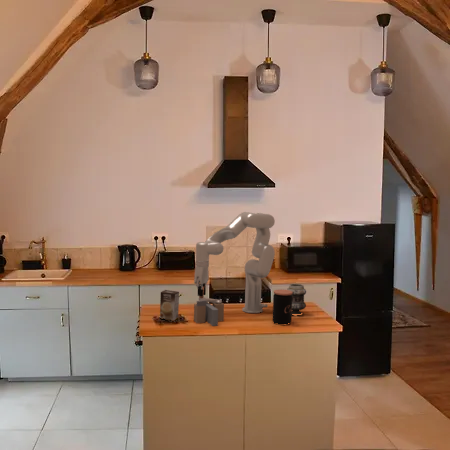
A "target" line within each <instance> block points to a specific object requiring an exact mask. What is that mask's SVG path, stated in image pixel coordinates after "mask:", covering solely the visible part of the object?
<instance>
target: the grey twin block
mask: <svg viewBox="0 0 450 450" xmlns="http://www.w3.org/2000/svg"><path fill="white" fill-rule="evenodd" d="M224 310H225V303H223V302H221V304H216V303H212V304H211V303H210V302H206V301H199V300H196V303H194V305H193V322H194V323H196V324H203V323H205V324H206V322H207V323H208V324H209V325H210V326H212V327H217V326H219V324H218V322H224V319H225V316H224V314H225V313H224V312H225V311H224Z"/></svg>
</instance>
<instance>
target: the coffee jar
mask: <svg viewBox="0 0 450 450" xmlns="http://www.w3.org/2000/svg"><path fill="white" fill-rule="evenodd" d="M272 300H273V301H272V320H271V321H272V323H273V322H274V324H275V323H278V324H288V323H290V324H291V322H292V317H293V316H292V291H289V290H287V289H274V290H273V299H272Z"/></svg>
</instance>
